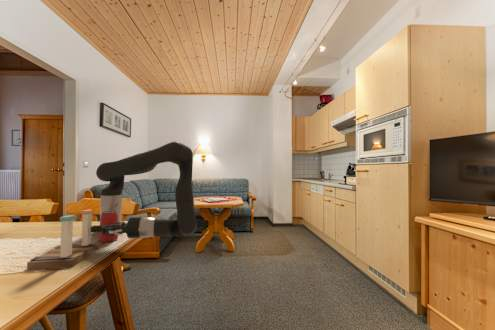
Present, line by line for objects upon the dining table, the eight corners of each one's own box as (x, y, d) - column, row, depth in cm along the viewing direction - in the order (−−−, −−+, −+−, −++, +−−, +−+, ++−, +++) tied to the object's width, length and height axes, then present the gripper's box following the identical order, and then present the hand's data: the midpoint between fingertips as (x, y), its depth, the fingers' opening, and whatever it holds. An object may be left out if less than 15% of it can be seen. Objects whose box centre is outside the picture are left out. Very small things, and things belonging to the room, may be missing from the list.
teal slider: (65, 254, 76) (66, 215, 76) (73, 253, 76) (74, 215, 77) (58, 258, 72) (59, 217, 73) (67, 257, 73) (68, 217, 73)
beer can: (109, 243, 97) (110, 213, 97) (95, 241, 98) (96, 212, 99) (121, 238, 103) (121, 210, 104) (108, 237, 105) (108, 210, 105)
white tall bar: (85, 243, 88) (86, 209, 88) (92, 242, 88) (93, 209, 89) (80, 246, 84) (81, 211, 85) (87, 245, 85) (88, 211, 85)
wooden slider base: (61, 250, 88) (61, 243, 88) (97, 248, 90) (98, 241, 90) (27, 269, 70) (27, 261, 70) (73, 266, 72) (73, 258, 72)
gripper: (146, 214, 97) (99, 215, 93) (138, 220, 84) (83, 222, 80) (146, 233, 97) (98, 234, 93) (137, 242, 84) (82, 245, 80)
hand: (91, 229), depth 87 cm, fingers closed
